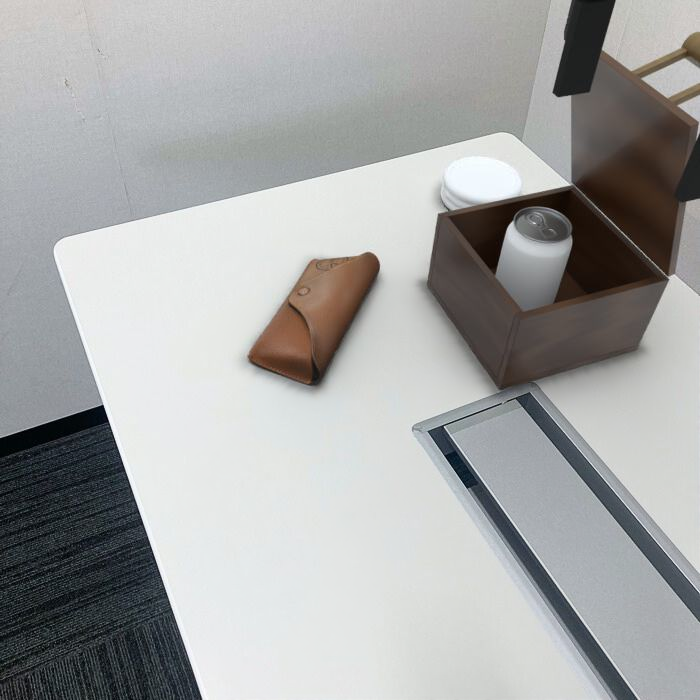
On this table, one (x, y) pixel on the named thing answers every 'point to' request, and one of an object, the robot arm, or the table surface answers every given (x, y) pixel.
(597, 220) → the chest
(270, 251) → the table surface
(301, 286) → the sunglasses case
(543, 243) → the can
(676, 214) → the lid
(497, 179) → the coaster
